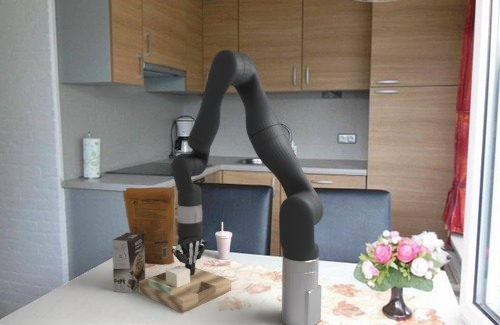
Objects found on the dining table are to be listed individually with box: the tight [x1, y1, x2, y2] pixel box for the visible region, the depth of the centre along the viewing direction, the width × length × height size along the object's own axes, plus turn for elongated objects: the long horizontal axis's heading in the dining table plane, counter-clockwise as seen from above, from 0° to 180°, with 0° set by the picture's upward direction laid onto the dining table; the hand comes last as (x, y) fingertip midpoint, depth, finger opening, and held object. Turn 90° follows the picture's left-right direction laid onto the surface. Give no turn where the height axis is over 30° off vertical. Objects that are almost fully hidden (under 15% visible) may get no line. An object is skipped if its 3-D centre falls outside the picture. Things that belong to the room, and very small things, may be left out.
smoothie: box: [214, 221, 233, 261], centre depth 152 cm, size 6×6×14 cm
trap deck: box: [138, 265, 232, 314], centre depth 122 cm, size 20×19×6 cm
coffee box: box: [112, 232, 146, 294], centre depth 125 cm, size 9×6×16 cm
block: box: [165, 265, 190, 287], centre depth 120 cm, size 5×5×4 cm
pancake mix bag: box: [122, 187, 177, 266], centre depth 146 cm, size 7×19×28 cm, turn 79°
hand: (190, 274), depth 123 cm, fingers closed
